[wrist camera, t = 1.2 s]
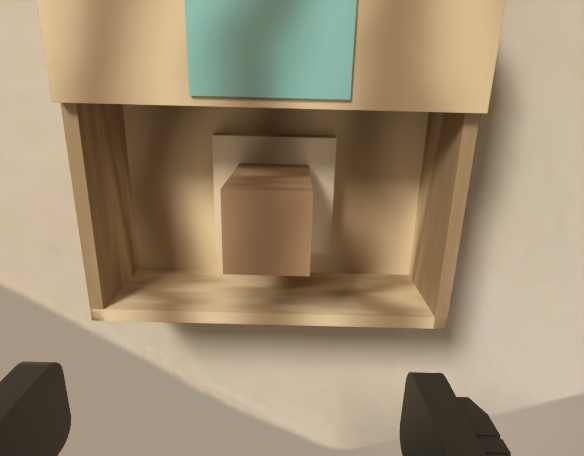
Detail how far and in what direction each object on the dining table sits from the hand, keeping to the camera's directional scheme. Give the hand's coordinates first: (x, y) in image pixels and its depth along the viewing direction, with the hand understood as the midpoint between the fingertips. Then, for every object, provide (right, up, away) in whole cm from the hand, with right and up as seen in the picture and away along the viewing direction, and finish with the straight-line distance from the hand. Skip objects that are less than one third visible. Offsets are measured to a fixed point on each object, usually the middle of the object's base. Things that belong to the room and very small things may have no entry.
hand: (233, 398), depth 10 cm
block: (0, +6, +18) cm, 19 cm away
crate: (0, +10, +20) cm, 22 cm away
